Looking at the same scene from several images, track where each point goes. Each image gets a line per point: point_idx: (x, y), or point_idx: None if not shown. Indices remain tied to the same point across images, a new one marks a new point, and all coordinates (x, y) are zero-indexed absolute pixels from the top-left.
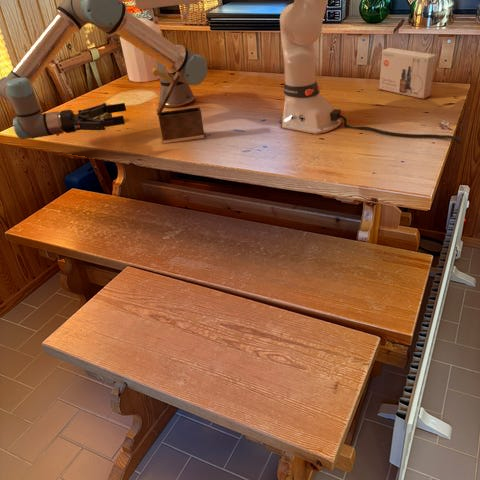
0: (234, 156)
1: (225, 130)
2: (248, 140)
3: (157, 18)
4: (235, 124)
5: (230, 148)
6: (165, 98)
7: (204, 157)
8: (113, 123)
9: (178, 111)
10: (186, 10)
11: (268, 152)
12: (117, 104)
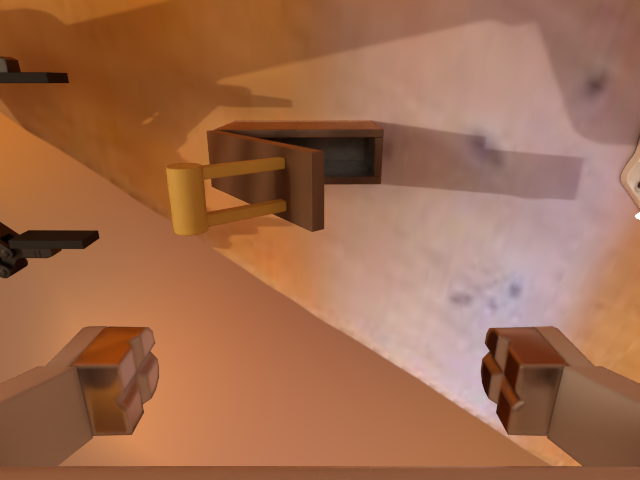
0: (424, 318)
1: (446, 128)
2: (489, 234)
3: (134, 426)
4: (493, 83)
5: (426, 269)
6: (244, 199)
7: (349, 299)
8: (57, 252)
9: (295, 136)
10: (602, 458)
11: (510, 323)
12: (16, 82)
